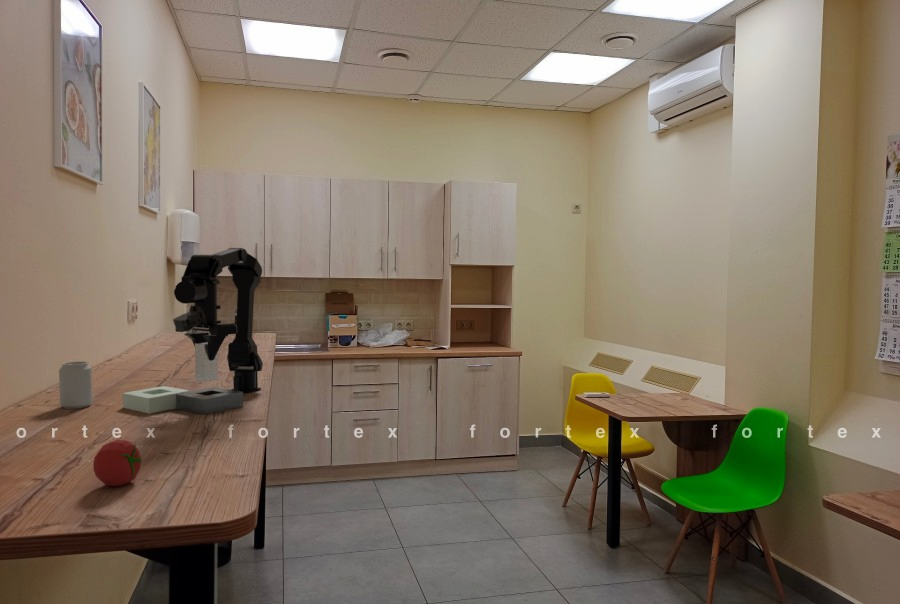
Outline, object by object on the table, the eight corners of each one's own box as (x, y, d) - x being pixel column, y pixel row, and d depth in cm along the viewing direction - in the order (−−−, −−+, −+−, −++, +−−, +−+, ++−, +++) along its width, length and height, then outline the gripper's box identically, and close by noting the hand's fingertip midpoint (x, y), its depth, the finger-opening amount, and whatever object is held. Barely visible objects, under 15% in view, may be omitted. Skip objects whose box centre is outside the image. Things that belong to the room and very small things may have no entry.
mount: (214, 401, 175) (214, 387, 175) (242, 406, 169) (242, 391, 168) (176, 409, 165) (175, 394, 165) (204, 414, 159) (204, 399, 158)
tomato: (90, 435, 107) (133, 428, 107) (116, 452, 113) (156, 445, 113) (80, 480, 102) (124, 473, 102) (107, 495, 109) (149, 488, 108)
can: (98, 403, 171) (97, 360, 170) (79, 410, 163) (78, 364, 163) (73, 403, 172) (72, 360, 171) (53, 409, 164) (52, 364, 164)
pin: (208, 378, 169) (207, 342, 169) (217, 379, 167) (217, 342, 167) (195, 380, 166) (194, 343, 165) (205, 382, 164) (204, 344, 163)
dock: (164, 399, 176) (164, 386, 176) (190, 405, 170) (190, 390, 170) (123, 407, 166) (122, 393, 166) (149, 413, 160) (148, 398, 159)
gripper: (156, 301, 164) (157, 360, 164) (201, 304, 154) (202, 366, 154) (193, 300, 173) (194, 355, 174) (238, 302, 163) (239, 361, 164)
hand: (206, 359), depth 166 cm, fingers closed on pin, 4 cm apart
